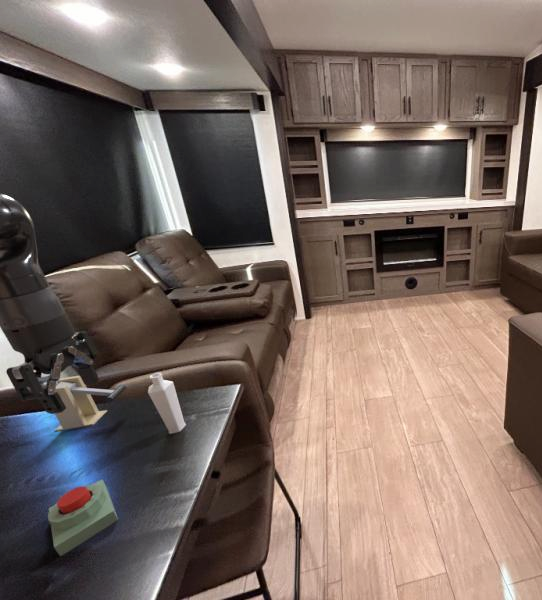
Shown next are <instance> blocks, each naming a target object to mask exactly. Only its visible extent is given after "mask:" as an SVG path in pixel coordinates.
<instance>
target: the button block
mask: <svg viewBox="0 0 542 600" xmlns="http://www.w3.org/2000/svg"><path fill="white" fill-rule="evenodd" d="M85 487H87V489H88V491H89V492H90V494H91V499H90V500H89V501H88V502H87V503H86V504H85V505H84V506H83V507H81V508H79V509H78V510H76V511H74V512H72V513H68V514H63V513H62V512H61V511H60V509H59V507H58V506H57V502H56V503H55V504H53V506H50V507H49V508H48V513H47V519H48V520H47V521H48V523H49V524H50V528H51V535H52V543H53V548H54V550H55V551H56V553H57V555H58V556H59V557H62V556H64V555H65V554H67V553H68V552H70V551H71V550H73V549H74V548H77V547H78V546H80V545H81V544H82V543H84V542H86V541H87V540H89V539H90V538H92V537H94V536H95V535H97V534H98V533H100V532H101V531H103V530H105V529H106V528H108V527H110V526H111V525H112V524H114V523H116V522H118V521H119V518H118V515H117V512H116V509H115V506H114V503H113V501H112V498H111V496H110V491H109V490H108V487H107V485H106V483H105V481H104V480H103V479H100V480H98V481H95V482H94V483H92V484H88V485H85Z"/></svg>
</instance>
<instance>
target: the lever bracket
mask: <svg viewBox="0 0 542 600" xmlns="http://www.w3.org/2000/svg"><path fill="white" fill-rule="evenodd" d="M61 382H69V383H76V387H81V388H88V387H87V385H85V384H84V383H83V381H82V379H81V377H80V375H75V376H67V377H60V379H59V380H58V381H57V382H56V383H57V385H58V384H59V383H61ZM55 392H58V394H59V396H60V398H61V399H62V401H63V403H64V405H65V406H66V409H65V410H64V411H63V412H61V413H55V414H54V416H55V417H56V419H57V421H58V422H59V426H57V427H56V428H55V429H54V432H61V431H65V430H72V429H78V428H85V427H88V426H94V425H95V424H96V423H97V422H98V421H99V420H100V419H101V418H103V416H104V415H105V414H106V413H107V412H108V410H107V409H104V410H99V409H98V407H97V405H96V402H95V401H94V399H93V397H92V395H89V394H76V393H74V394H73V395H72V393H71V391H70V389H69V388H68V386H67V385H66V386H60V387H56V390H55Z"/></svg>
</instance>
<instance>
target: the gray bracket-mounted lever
mask: <svg viewBox="0 0 542 600" xmlns="http://www.w3.org/2000/svg"><path fill="white" fill-rule="evenodd" d="M66 385H67V386H68V388H69V389H70V391H71V393H72V395H73V394H74V393H76V394H89V395H91V396H104V397H105V402H107V403H112V402H114V400H115V399H117V397H119V396H120V395H121V394H122V393H123V392H124V391H125V390H126V389H127V386H126V385H124V384H120V385H118V386H117V387H116V388H115V389H105V388H104V389H103V388H94V387H93V388H91V387H87V388H81V387H76V383H69V382H61V383H59V384H58V383H57V384H56V387H60V386H66Z"/></svg>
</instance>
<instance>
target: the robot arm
mask: <svg viewBox="0 0 542 600" xmlns="http://www.w3.org/2000/svg"><path fill="white" fill-rule="evenodd" d="M38 254H39V253H38V247H37V239H36V231H35V225H34V222H33V219H32V217H31V215H30V213H29V212H28V211H27V209H26V208H25V207H24V206H23V205H22V204H21V203H20V202H19V201H18V200H16V199H15V198H13V197H12V196H9V195H7V194H4V193H1V192H0V329H1V331H2V333H3V334H4V336H5V338H6V340H7V342H8V343H9V345H10V346H11V349H12V350H13V351H15V352H16V353H20V354H21V355H23V358H24V362H23V363H21V364H19V365H15V366H11V367H8V368H6V371H5V373H6V375H7V377H8V379H9V381H10V382H11V383H12V386H13V388H14V390H15V392H16V393H17V396H18V397H19V399H20V401H21V402H27V401H32V400H33V401H34V400H38V401H39V403H40V404H41V406H42V408H43V409H44V411H45V412H46V413H47V414H51V415H55V413H61V412H63V411H64V410H65V409H66V406H65V405H64V403H63V401H62V399H61V398H60V396H59V394H58V392H55V390H56V385H57V383H58V382H57V381H58V380H59V379H60V378H61V374H62V373H63V372H64V371H65V370H66V369H67V367H68V368H69V367H71V366H73V367H75V368H77V369H76V371H77V373H78V376H80V377H81V379H82V381H83V383H84V384H85V385H86V386H90V385H96V384H97V383H99V382H100V379H99V375H98V373H97V371H96V369H95V367H94V363H95V362H94V360H95V359H97V358H98V357H99V356H100V355H99V352H98V350H97V348H96V347H95V345H94V343H93V341H92V339H91V338H90V336H89V334H88V332H87V331H85V330H84V331H77V332H76V329H74V327H73V324H72V322H71V320H70V319H69V316H68V315H67V313H66V310H65V309H64V306H63V305H62V302H61V300H60V298H59V297H58V295H57V294H56V293H55V292H54V290H53V289H52V287H51V286H50V284H49V281H48V279H47V277H46V275H45V273H44V272H43V269H42V267H41V265H40V264H39V257H38V256H39V255H38ZM86 350H87V351H88V352H86ZM42 374H44V375H47V376H42ZM45 383H46V384H45ZM44 384H45V388H44ZM29 389H30V391H29Z"/></svg>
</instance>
